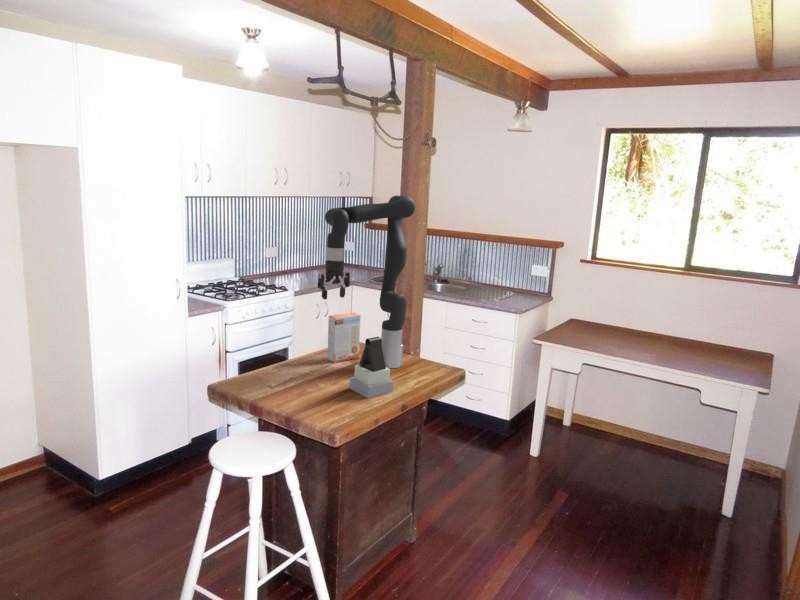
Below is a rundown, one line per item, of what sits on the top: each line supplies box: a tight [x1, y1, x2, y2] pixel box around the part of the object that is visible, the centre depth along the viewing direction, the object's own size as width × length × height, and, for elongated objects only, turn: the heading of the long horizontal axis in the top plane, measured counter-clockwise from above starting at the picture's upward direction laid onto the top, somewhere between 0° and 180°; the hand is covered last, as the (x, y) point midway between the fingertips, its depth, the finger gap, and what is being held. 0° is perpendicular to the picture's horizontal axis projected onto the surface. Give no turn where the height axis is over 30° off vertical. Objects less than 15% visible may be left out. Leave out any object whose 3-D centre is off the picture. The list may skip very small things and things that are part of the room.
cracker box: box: [327, 312, 361, 363], centre depth 252 cm, size 14×6×21 cm, turn 130°
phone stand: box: [358, 336, 386, 372], centre depth 215 cm, size 9×6×12 cm, turn 44°
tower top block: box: [353, 364, 391, 386], centre depth 217 cm, size 10×10×5 cm
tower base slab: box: [349, 376, 394, 399], centre depth 218 cm, size 12×12×5 cm
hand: (333, 298), depth 226 cm, fingers open, 8 cm apart
